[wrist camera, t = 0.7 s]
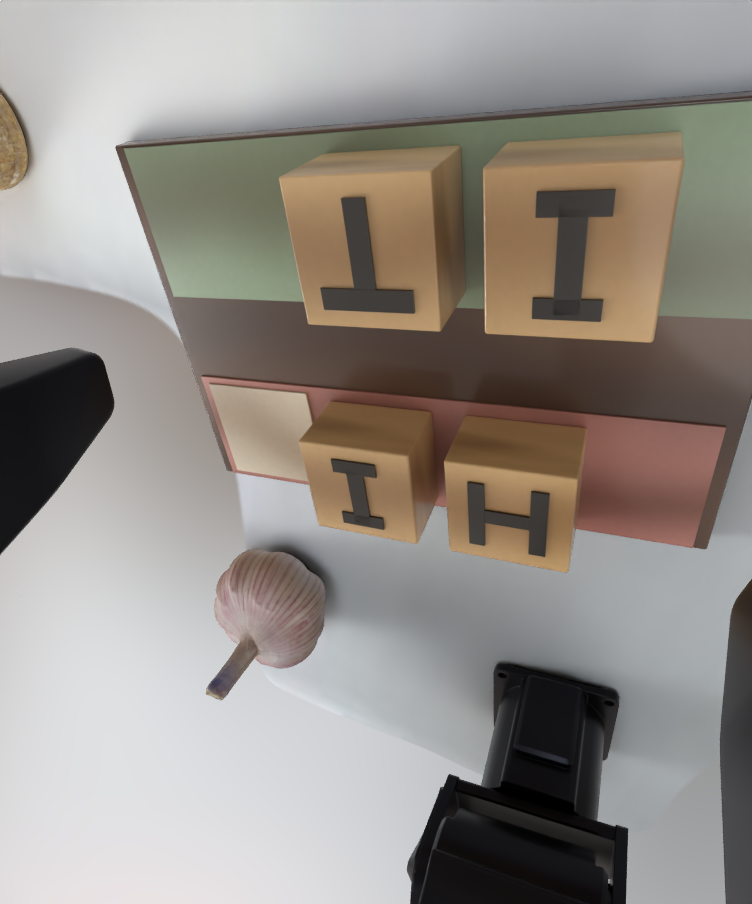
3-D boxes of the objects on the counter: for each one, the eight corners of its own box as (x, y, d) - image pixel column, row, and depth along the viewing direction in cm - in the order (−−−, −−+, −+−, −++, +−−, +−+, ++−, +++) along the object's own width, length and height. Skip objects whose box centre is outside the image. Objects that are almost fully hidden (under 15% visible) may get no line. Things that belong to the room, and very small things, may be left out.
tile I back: (439, 497, 26) (417, 546, 24) (345, 482, 27) (317, 527, 25) (432, 410, 23) (407, 457, 21) (329, 399, 25) (296, 442, 23)
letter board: (705, 535, 23) (707, 554, 22) (234, 461, 31) (224, 473, 30) (838, 83, 14) (847, 89, 13) (128, 141, 22) (109, 146, 21)
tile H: (577, 518, 24) (567, 575, 22) (468, 501, 25) (448, 553, 23) (587, 427, 21) (578, 481, 19) (464, 414, 23) (442, 462, 20)
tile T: (466, 292, 20) (439, 334, 18) (344, 289, 21) (306, 326, 19) (461, 144, 17) (429, 170, 15) (322, 153, 19) (275, 178, 16)
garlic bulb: (276, 622, 40) (209, 734, 34) (211, 543, 37) (125, 651, 31) (365, 616, 35) (305, 743, 29) (299, 526, 32) (218, 648, 27)
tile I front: (655, 298, 18) (652, 345, 15) (504, 294, 19) (483, 336, 17) (683, 130, 15) (685, 158, 13) (506, 141, 17) (480, 168, 14)
